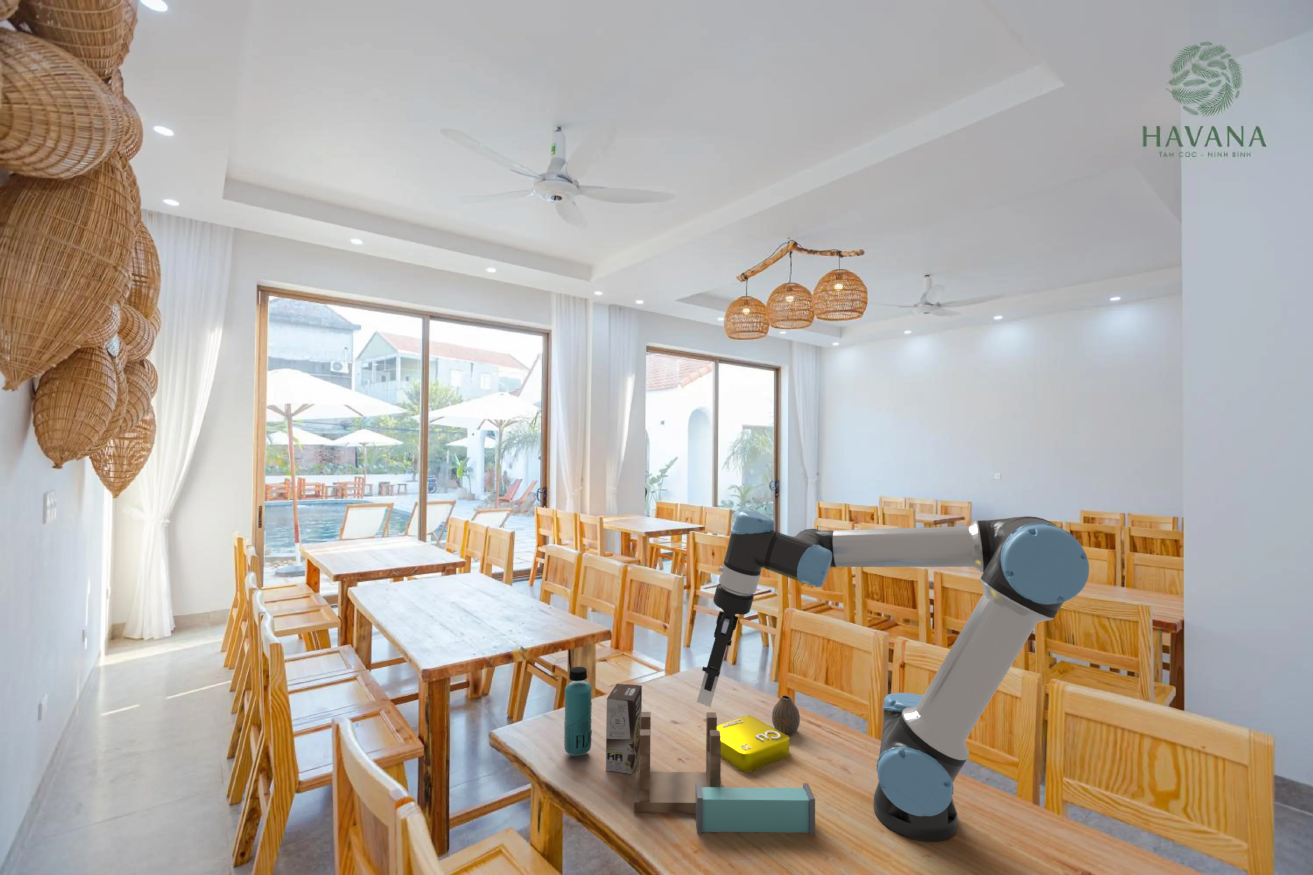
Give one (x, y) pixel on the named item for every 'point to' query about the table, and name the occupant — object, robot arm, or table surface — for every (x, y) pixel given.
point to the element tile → (752, 743)
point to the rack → (675, 774)
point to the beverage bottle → (577, 713)
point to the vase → (786, 716)
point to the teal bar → (755, 809)
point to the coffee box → (623, 728)
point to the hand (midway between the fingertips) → (708, 687)
